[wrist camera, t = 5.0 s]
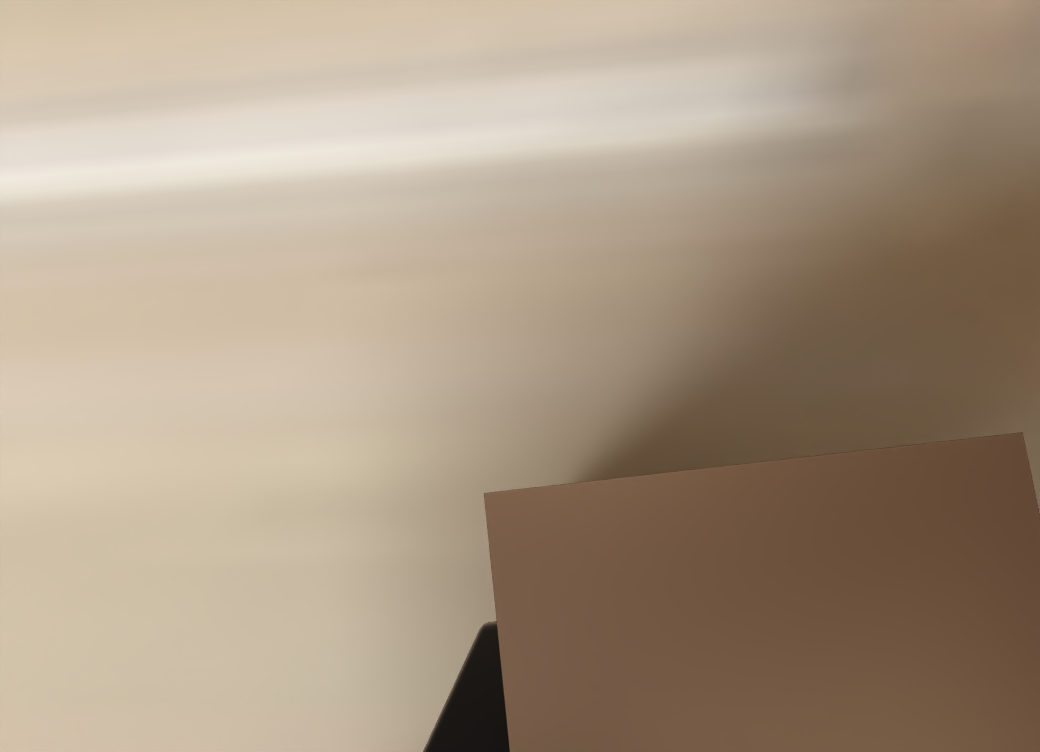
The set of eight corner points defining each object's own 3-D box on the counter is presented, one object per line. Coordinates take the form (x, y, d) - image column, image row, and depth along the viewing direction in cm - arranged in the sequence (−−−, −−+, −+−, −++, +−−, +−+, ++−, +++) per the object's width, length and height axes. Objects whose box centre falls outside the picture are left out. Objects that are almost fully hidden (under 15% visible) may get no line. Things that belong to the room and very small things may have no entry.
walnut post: (795, 729, 16) (1146, 1034, 6) (564, 753, 16) (543, 1085, 6) (759, 497, 17) (1022, 431, 7) (538, 521, 17) (482, 492, 7)
